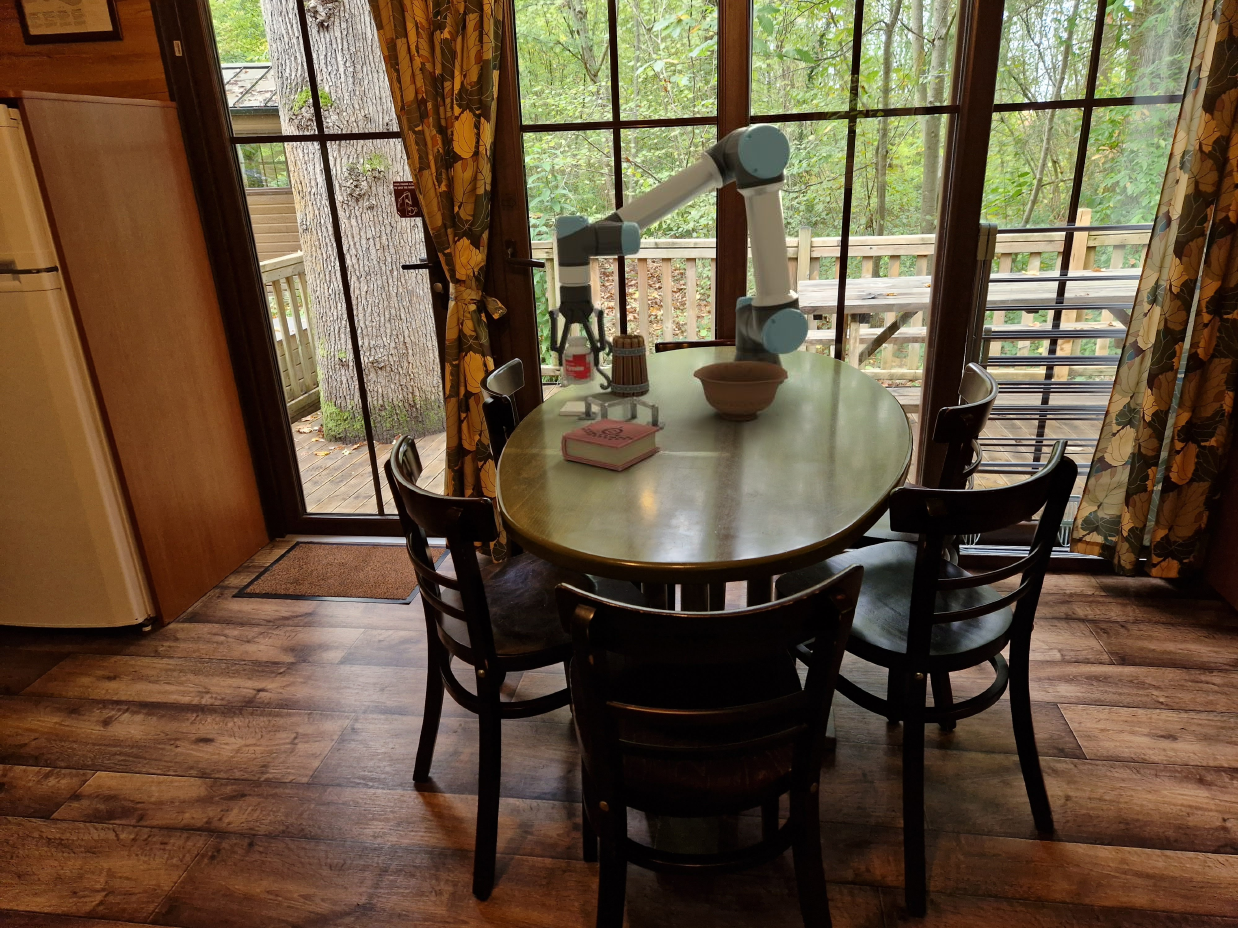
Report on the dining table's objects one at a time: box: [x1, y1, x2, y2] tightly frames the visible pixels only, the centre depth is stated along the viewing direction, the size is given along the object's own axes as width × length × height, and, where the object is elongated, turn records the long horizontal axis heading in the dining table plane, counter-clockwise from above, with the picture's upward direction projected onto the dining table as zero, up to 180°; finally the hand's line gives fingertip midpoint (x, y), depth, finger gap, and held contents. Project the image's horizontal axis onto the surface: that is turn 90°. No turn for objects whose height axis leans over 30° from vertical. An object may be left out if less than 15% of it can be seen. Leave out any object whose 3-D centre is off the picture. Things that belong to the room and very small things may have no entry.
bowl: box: [693, 361, 789, 422], centre depth 185 cm, size 22×22×11 cm
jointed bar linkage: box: [578, 395, 666, 430], centre depth 184 cm, size 21×11×5 cm, turn 81°
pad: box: [559, 401, 601, 416], centre depth 196 cm, size 9×9×1 cm
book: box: [560, 418, 661, 471], centre depth 163 cm, size 14×15×5 cm
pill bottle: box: [564, 335, 592, 386], centre depth 190 cm, size 6×6×11 cm
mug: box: [589, 333, 651, 398], centre depth 209 cm, size 16×11×15 cm
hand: (580, 379), depth 193 cm, fingers closed on pill bottle, 6 cm apart
